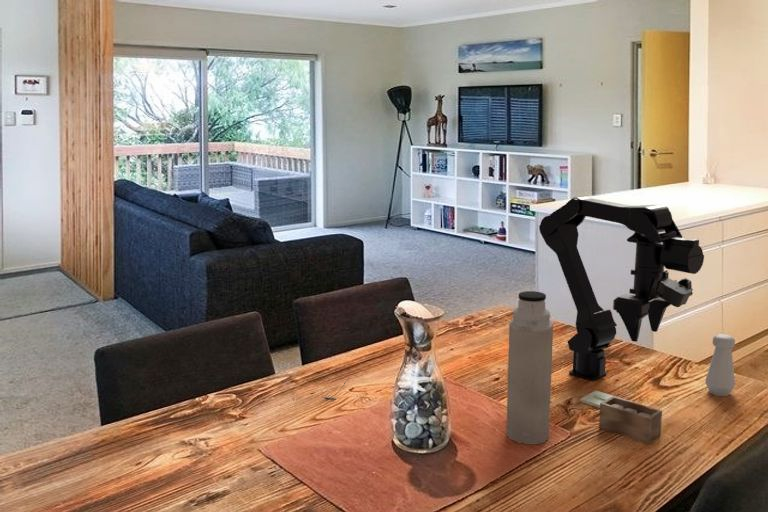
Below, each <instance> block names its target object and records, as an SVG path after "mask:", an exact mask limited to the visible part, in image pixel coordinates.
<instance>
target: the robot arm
mask: <svg viewBox="0 0 768 512" xmlns="http://www.w3.org/2000/svg"><path fill="white" fill-rule="evenodd" d="M586 217H588V218H593V219H598V220H602V221H607V222H611V223H617V224H620V225H622V226H625V227H626V228H627V229H628V230H630V231H632V232H634V233H632V235H631V236H629V237H628V238H627V239H626V241H627V242H628V243H635V245H636V246H635V257H634V258H635V259H634V268H633V269H632V268H631V269H630V275H632V276H633V287H630V288H629V294H628V293H624V294H621V295H619V296H617V297H615V298H614V299H613V300H612V301H613V304H612V305H613V306H612V309H613V311H615V312H616V313H617V314H619V316H620V319H621V320H622V322H623V324H624V326H625V328H626V331H627V333H628V335H629V338H630V341H632V342H635V343H637V342H638V339H639V337H640V331H641V326H642V321H643V319H644V318H645V317H647V316H648V321H649V325H650V330H651V331H652V332H654V333H656V332H658V330H659V328H660V325H661V322H662V320H663V317H664V316H665V312H666V311H667V308H669V307H670V306H673V307H675V308H679V307H682V306H683V305H686V304H687V302H688V300H689V298H690V297H691V296H693V294H694V293H693V290H694V289H693V288H692V287H693V286H692V285H693V284H692V280H690V279H688V278H686V277H684V278H682V279H680V280H677V279H671V278H670V277H669V271H668V270H670V271H676V272H681V273H686V274H687V273H688V274H692V275H695V274H697V273H699V272H700V270H701V268H702V267H703V265H704V260H705V254H704V252H703V248H702V247H701V246H700V240H699V239H697V238H685V237H684V238H683V235H682V233H681V231H680V229H679V228H678V226H677V224H676V223H675V221H674V219H673V216H672V211H670V209H669V207H668V206H665V205H663V204H646V205H645V204H644V205H629V204H623V203H618V202H614V201H613V202H612V201H607V200H602V199H597V198H592V197H589V196H587V195H585V196H575V197H572V198H571V199H570V200H568V201H567V202H566V204H563V205H562V206H560V207H559V208H558V209H556V210H554V211H553V212H552V213H550V214H549V215H546V216H544V217H543V218H542V219H541V220H540V224H539V226H538V227H539V233H540V236H541V237H542V239H543V241H544V242H545V245H546V246H548V248H550V249H551V250H552V251H553V252H554V253H555V254H556V256H557V260H558V262H559V265H560V267H561V270H562V273H563V276H564V278H565V281H566V284H567V287H568V290H569V292H570V295H571V298H572V300H573V301H572V302H573V303H574V305H575V309H576V318H575V327H576V332H577V333H576V334H574V335H573V336H572V337H570V338H569V339H568V340H567V345H568V348H569V351H572V352H573V355H572V369H571V370H569V371H568V374H569V375H573V376H576V377H579V378H583V379H587V380H590V381H595V380H597V379H600V378H601V377H603V376H605V375H607V373H608V372H607V371H606V364H607V363H606V361H607V357H606V356H605V349H607V348H609V346H610V345H611V343H612V342H613V341H614V340H615V338H616V335H617V328H616V327H618V324H617V323H616V322H615V320H614V317H613V312H612V311H611V309H610V308H609V309H605V310H604V308H602V307H601V306H600V305H599V303H598V300H597V297H596V295H595V293H594V289H593V286H592V284H591V282H590V279H589V276H588V274H587V270H586V269H585V266H584V263H583V262H584V261H583V260H582V257H581V255H580V252H579V249H578V240H579V230H578V227H579V226H580V225H581V224H583V222H584V221H585V219H586Z"/></svg>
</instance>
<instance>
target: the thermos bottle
mask: <svg viewBox="0 0 768 512" xmlns="http://www.w3.org/2000/svg"><path fill="white" fill-rule="evenodd" d="M546 296H547V294H546V293H544V292H542V291H540V292H539V291H536V290H535V291H532V290H531V291H529V290H528V291H521V292H519V293H518V299H519V300H518V306H517V307H516V308H514V309H513V314H512V319H510V320H509V324H508V325H509V327H508V355H507V356H508V358H507V362H508V363H507V394H506V395H507V397H506V398H507V399H506V400H507V401H506V436H507V437H508V438H509V439H510V438H511V439H512V441H513V440H514V441H513V442H515V441H517V442H516V443H518V442H519V443H518V444H522V443H524V444H523V445H539V444H542V443H543V444H544V443H545V442H547V441H548V439H549V438H550V417H551V416H550V415H551V388H552V366H553V365H552V364H553V345H554V343H553V339H554V323H553V322H552V321H551V320H550V318H551V312H550V310H548V309H547V308H546V301H545V300H546V299H547V297H546ZM511 439H510V440H511ZM546 440H547V441H546Z"/></svg>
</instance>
